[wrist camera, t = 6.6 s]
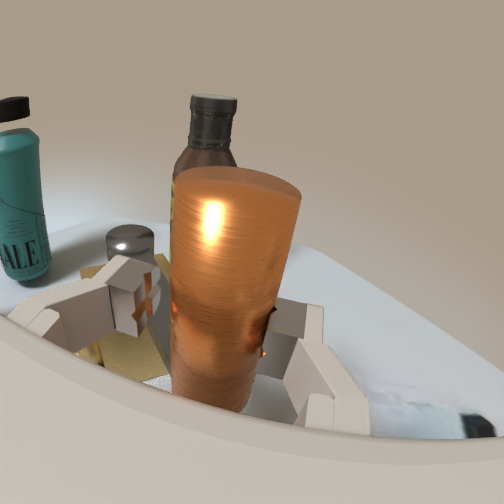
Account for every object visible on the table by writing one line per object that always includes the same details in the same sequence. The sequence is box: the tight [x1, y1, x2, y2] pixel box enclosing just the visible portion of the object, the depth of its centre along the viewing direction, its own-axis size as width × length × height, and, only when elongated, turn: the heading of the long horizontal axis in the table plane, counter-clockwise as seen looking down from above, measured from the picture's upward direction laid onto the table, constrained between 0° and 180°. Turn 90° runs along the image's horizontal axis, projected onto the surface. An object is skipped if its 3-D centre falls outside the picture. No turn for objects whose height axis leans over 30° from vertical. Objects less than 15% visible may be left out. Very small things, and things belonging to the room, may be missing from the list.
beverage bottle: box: [0, 97, 52, 281], centre depth 25 cm, size 6×7×20 cm
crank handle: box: [106, 166, 302, 413], centre depth 14 cm, size 15×3×9 cm, turn 32°
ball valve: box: [74, 253, 171, 382], centre depth 24 cm, size 18×6×10 cm, turn 124°
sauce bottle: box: [170, 94, 237, 265], centre depth 30 cm, size 6×6×20 cm
